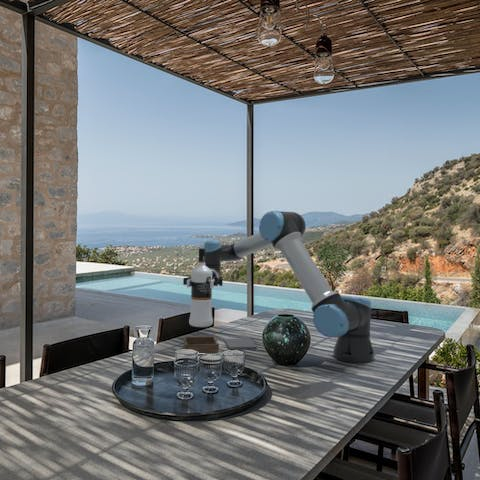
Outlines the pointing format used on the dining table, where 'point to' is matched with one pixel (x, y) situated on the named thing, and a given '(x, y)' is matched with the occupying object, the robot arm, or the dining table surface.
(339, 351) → the robot arm
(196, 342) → the bottle well
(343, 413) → the dining table surface
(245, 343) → the slate board
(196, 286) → the vodka
